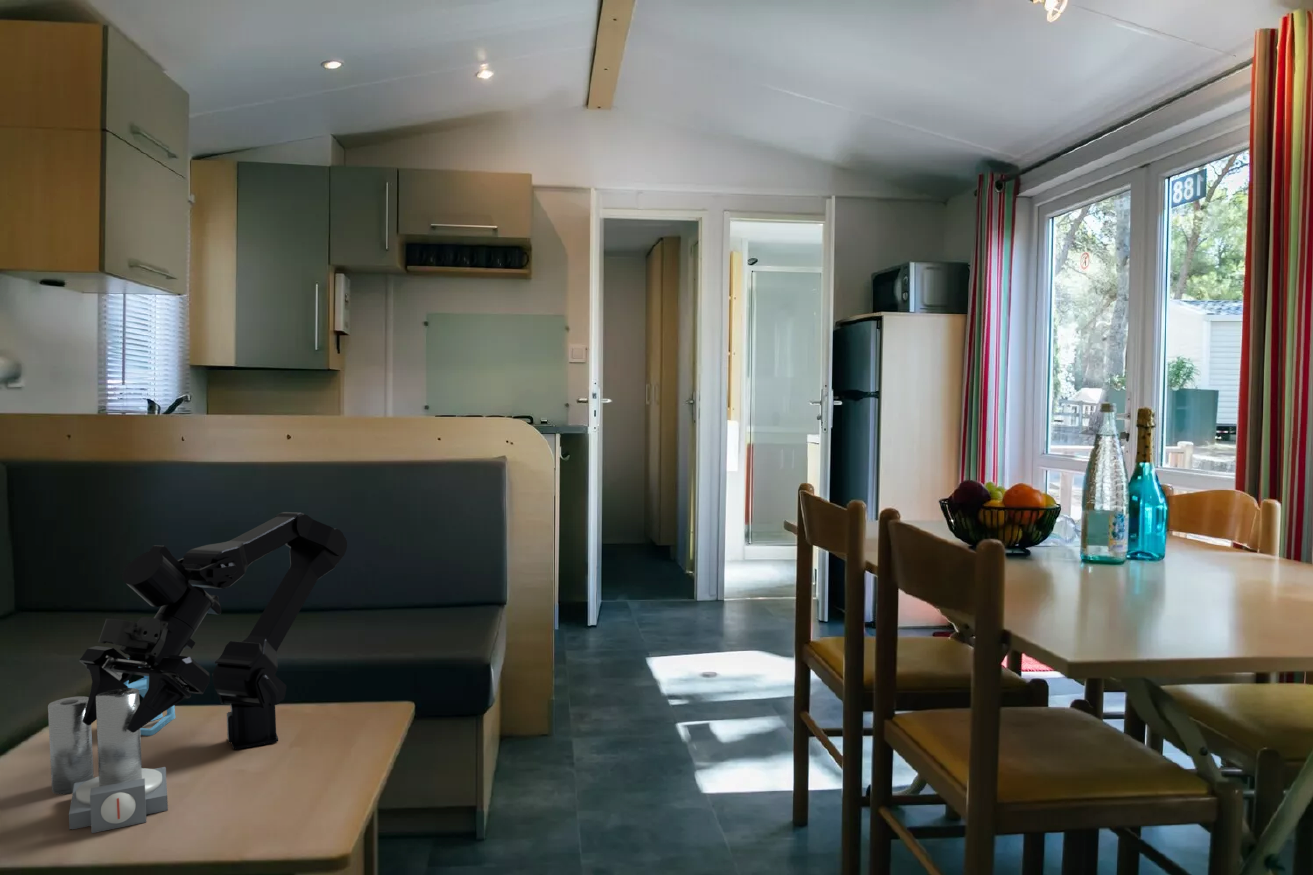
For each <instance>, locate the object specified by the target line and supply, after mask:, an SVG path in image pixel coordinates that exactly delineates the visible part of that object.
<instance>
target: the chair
mask: <svg viewBox="0 0 1313 875" xmlns="http://www.w3.org/2000/svg"><path fill="white" fill-rule="evenodd" d="M127 659H129V657H128V658H127ZM138 668H140V667H138ZM129 680H130V679H129ZM129 680H128V681H126V682H125V683H124V684H125V685H126V686H128V688H135V689H138V690H139V696H141V697H142V699H143V698H144V696H145V694H146V693H147V691H148V688H149V676H143V678H139V679H137V680H136V681H133V682H131V683H129V682H130V681H129ZM175 706H176V704H175V705H174V706H172V707H171V708H169V709H167V710H166V715H165V716H164V715H163V713H161V714H160V715H158V716H157V717H156V718H154V719H153V720H151V721H150V722H154V721H156V720H158V722H156V723H155V724H154V725H153V726H151V727H149V728H146V727H141V728H140V732H141V736H147V737H150V736H154V735H156V733H158V732H159V731H161V730H162V729H164V727H166V726H167V725H168V724H169V723H170V722H172V721H173V720H175V719H176V709H175Z"/></svg>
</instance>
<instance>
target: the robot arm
mask: <svg viewBox="0 0 1313 875" xmlns="http://www.w3.org/2000/svg"><path fill="white" fill-rule="evenodd" d="M283 546H286V547H288V548H289V562H290V566H289V568H288V570H287V571H286V574H285V575H284V577H283V578H282V580H281V582H280V584H279V585H278V586H277V588H276V590H275V591H274V593H273V595H272V597H271V598H270V599H269V602H268V603H267V605H266V606H265V608H264V610H263V611H262V613H261V614H260V617H259V618H258V619H257V621H256V623H255V625H254V626H253V628H252V630H251V631H250V632H249V634H248V636H247V637H246V638H245V639H242V641H237V640H235V641H234V640H230V641H229V642H228V643H226V645H225V647H224V649H223V651H222V654H220V656H219V658H218V659H216V660H215V662H214V664H216V666H215V667H214V670H213V672H212V675H211V676H210V672H209V671H207V670H206V669H205V668H204V667H203V666H202V665H200V664H199V663H198V662H197V661H195V660H194V659H193V658H192V657H191V656H186V655H185V656H184V655H182V653H183V652H184V650H185V649H189V650H192V649H193V647H194V646H195V644H196V642H195V641H194V640H193V639H192V637H193V636H194V634H195V633H196V632H197V630H198V628H199V626H200V625H201V623H202V621H203V620H204V618H205V617H206V616H207V614H211V615H217V616H218V615H221V613H222V607H221V605H220V602H219V596H218V595H214V594H209V593H208V592H207V591H206V590H205V589H203V588H208V589H220V590H221V589H228V588H230V587H232V585H234V584H235V583H236V582H238V580H240V579H242V577H244V576H245V574H246V573H247V569H248V567H249V566H250V565H251V564H253V563H255V562H256V561H258V560H259V559H261V558H263V557H264V556H266V555H268V554H271V553H272V552H274V551H276V550H277V549H279V548H281V547H283ZM347 547H348V541H347V537H345V535H344V533H343V532H342V531H341V530H340V529H338V528H334V527H333V526H330V525H327V524H326V523H324V522H321V521H318V520H316V519H314V518H312V517H310V516H309V515H308V514H305V513H304V512H291V511H290V512H289V511H282V512H280V513H278V514H276V515H275V516H274V517H273V518H271V519H269V520H267V521H266V522H264V523H262V524H259V525H258V526H256V527H254V528H252V529H250V530H248V531H246V532H244V533H242V534H240V535H239V536H236V537H234V538H232V539H231V540H228V541H223V542H218V543H210V544H205V545H202V546H198V547H195V548H191V549H190V550H188V551H187V552H186V553H185V554H184V555H183V556H182V558H179V559H177V558H176V557H175V556H174V555H173V554H172V553H171V551H170V550H169V548H167V546H165V545H152V546H151V548H150V549H149V551H146V552H144V553H142V554H141V553H140V555H138V556H136V558H134V559H133V560H132V561H130V562H128V563H127V565H126V566H125V567H124V569H123V571H122V574H121V576H122V581H123V583H125V584H126V585H127V586H128V587H129V588H130V589H131V590H133V591H134V593H135V594H137V595H138V596H140V598H142V599H143V600H144V601H145V602H146V603H147V604H148V605H150V606H151V607H154V608H159V609H158V610H157V613H156V614H155V616H154V617H151V616H150V617H149V616H141V617H140V618H139V620H138V621H137V622H136V621H129V620H124V619H113V618H105V622H104V624H103V627H102V630H101V633H100V636H99V639H98V641H97V642H98V643H100V644H107V643H108V644H112V645H116V646H117V645H118V646H120V648H119V651H120V652H119V651H118V650H117V649H115V648H114V647H109V646H107V647H106V646H98V645H95V646H91V647H87V649H86V650H85V652H84V653H83V655H82V656H81V657H80V659H79V663H81V664H82V665H83V666H85V669H86V671H87V672H88V673H89V674H90V677H91V678H90V679H91V687H90V692H89V696H88V697H89V699H88V703H87V707H86V710H85V714H84V717H83V723H85V724H86V725H91V726H92V725H93V723H95V722H96V721H97V714H96V696H97V695H98V694H100V693H102V692H106V691H109V690H114V689H121V688H128V686H126V685H125V684H124V683H125V682H126V681H128V680H130V679H132V677H133V675H134V676H135V675H136V676H142V677H144V676H149V688H148V691H147V693H146V694H145V696H144V698H143V697H142V699H141V701H140V702H139V704H140V705H139V707H138V708H137V710H136V712H135V714H134V715H133V717H132V719H131V721H130V723H129V725H128V728H127V729H128V730H129V731H130V732H133V733H134V732H136V731H137V730H139V729H140V728H144V726H146V725H147V724H148V723H150V722H152V721H151V720H153V719H154V718H156V717H157V716H158V715H160V714H161V713H162V714H163V713H164V712H167V709H169V708H171V707H172V706H174V705H175V706H176V705H177V704H179V703H180V702H182V701H183V700H186V699H190V698H191V697H192V694H196V695H204V692H205V691H206V690H207V688H208V686H209V685H210V684H211V680H210V679H211V678H212V683H213V687H214V690H215V692H216V694H217V697H218V699H219V702H220V704H227V705H230V711H228V712H227V713H226V730H227V732H226V733H227V740H228V741H227V742H228V743H229V744H231V745H232V750H240V749H245V748H252V747H256V746H262V745H269V744H272V743H273V744H274V743H277V742H279V737H278V734H277V717H276V716H277V714H276V705H279V704H280V702H282V701H284V700H285V698H286V692H287V686H288V685H287V684H285V683H284V681H282V680H281V679H280V678H279V677H278V676H277V675H276V674H277V672H278V668H279V667H278V666H279V665H278V650H279V648H280V646H281V644H282V642H283V641H284V639H285V637H286V635H287V634H288V633H289V630H290V629H291V626H292V625H293V623H294V621H295V620H296V619H297V617H298V614H299V613H300V611H301V610H302V608H303V606H304V604H305V603H306V601H307V600H308V597H309V596H310V594H311V593H312V590H313V589H314V587H315V585H316V583H317V581H318V580H319V579H321V578H322V577H323V576H325V575H327V574H328V573H330V572H331V571H333V570H334V569H335V568H336V567H337V566H338V564H339V563H340V562H341V560H342V559H343V557H345V553H346V551H347V549H348V548H347ZM121 652H122V653H124V655H123V654H122V653H121ZM125 655H128V656H129V657H128V658H129V659H128V658H127V657H125ZM138 667H140V668H138ZM210 677H211V678H210Z"/></svg>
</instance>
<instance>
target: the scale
mask: <svg viewBox="0 0 1313 875" xmlns="http://www.w3.org/2000/svg"><path fill="white" fill-rule="evenodd" d="M167 784H168V782H167V768H166V766H162V767H157V768H143V767H142V779H138V780H133V781H128V782H122V783H117V784H111V785H106V786H100V787H99V775H98V776H96V777H94V778H93V779H90V780H88V781H84V782H78V783H74V789H73V793H71V794H72V796H71V802H70V807H69V811H68V823H69V824H68V825H69V826H68V827H69V830H70V829H72V830H76V829H81V828H86V827H91V830H90V831H91V834H95V833H100V832H103V831H109V830H113V829H119V828H123V827H128V826H134V825H139V824H143V823H147V815H151V814H156V813H162V812H166V811H168V810H169V807H168V806H169V805H168V802H169V801H168V785H167Z"/></svg>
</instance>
